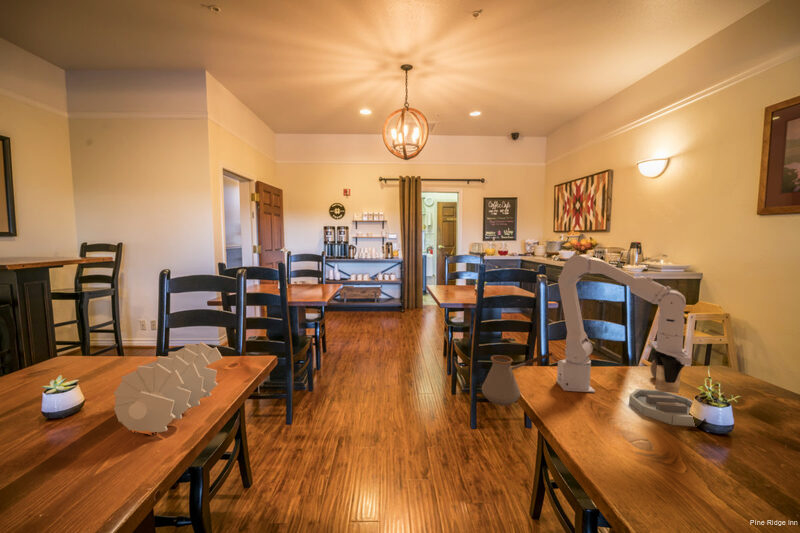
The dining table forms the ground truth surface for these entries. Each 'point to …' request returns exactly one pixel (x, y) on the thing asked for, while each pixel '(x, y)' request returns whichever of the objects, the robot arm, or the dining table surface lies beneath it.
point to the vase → (653, 368)
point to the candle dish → (658, 414)
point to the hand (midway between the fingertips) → (667, 380)
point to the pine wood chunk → (663, 385)
